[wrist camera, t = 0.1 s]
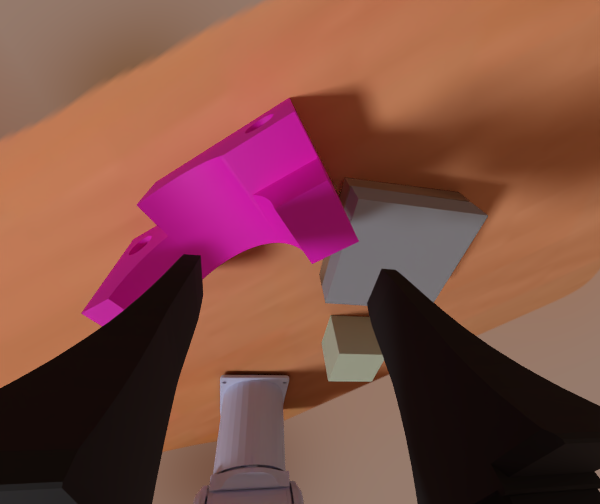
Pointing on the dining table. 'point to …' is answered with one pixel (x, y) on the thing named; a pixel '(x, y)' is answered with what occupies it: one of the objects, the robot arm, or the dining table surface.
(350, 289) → the slate top slab
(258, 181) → the toy block
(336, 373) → the sage cube
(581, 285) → the dining table surface
